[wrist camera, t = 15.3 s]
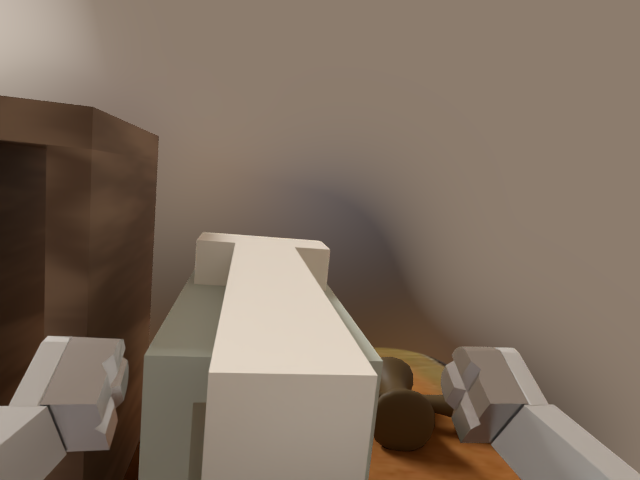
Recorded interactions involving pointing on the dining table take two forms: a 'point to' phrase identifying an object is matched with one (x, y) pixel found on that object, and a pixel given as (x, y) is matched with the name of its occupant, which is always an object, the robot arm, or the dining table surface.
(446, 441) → the dining table surface
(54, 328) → the tall stand
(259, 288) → the T-piece
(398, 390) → the kendama
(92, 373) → the robot arm
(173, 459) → the pale green rectangular block
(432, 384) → the dining table surface
